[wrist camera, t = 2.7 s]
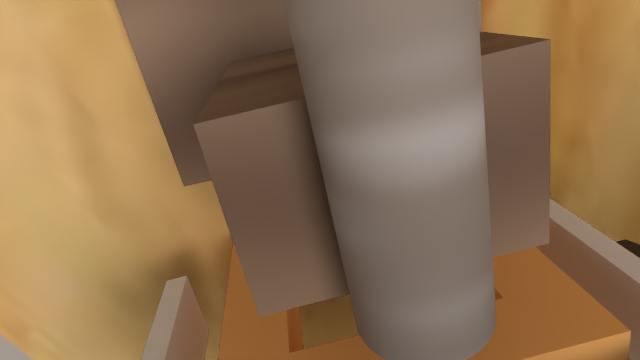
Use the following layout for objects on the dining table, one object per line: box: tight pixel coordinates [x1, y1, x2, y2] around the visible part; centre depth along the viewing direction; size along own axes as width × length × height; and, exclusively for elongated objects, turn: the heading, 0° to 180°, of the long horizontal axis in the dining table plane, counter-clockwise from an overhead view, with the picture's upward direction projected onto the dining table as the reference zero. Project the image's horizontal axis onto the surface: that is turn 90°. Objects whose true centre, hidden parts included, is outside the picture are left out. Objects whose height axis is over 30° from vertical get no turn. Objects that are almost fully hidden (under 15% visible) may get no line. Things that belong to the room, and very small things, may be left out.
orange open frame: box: [218, 243, 631, 360], centre depth 15 cm, size 3×10×10 cm, turn 102°
